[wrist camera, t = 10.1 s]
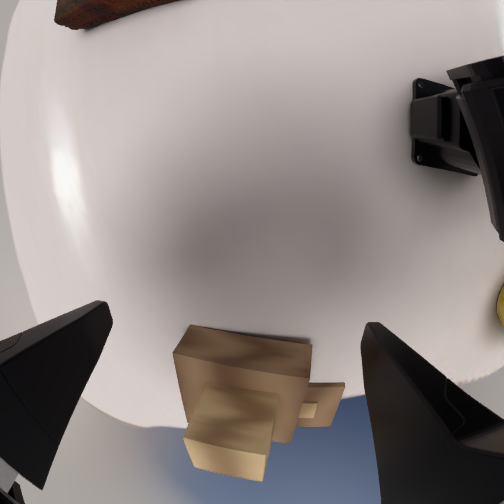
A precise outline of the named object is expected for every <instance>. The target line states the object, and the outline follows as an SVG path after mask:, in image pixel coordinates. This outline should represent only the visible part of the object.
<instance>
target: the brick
mask: <svg viewBox="0 0 504 504" xmlns="http://www.w3.org/2000/svg"><path fill="white" fill-rule="evenodd" d="M173 1H177V0H57V6H56V12H55V18H54V21H55V23H57V24H59V25H62V26H63V25H64V26H65V27H69V28H70V29H72V30H78V29H81V28H82V29H88V28H92V27H94V26H97V25H99V24H101V23H103V22H107V21H110V20H115V19H117V18H120V17H123V16H125V15H128V14H132V13H135V12H137V11H140V10H144V9H147V8H151V7H154V6H158V5H162V4H165V3H169V2H173Z"/></svg>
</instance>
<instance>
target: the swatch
mask: <svg viewBox="0 0 504 504" xmlns="http://www.w3.org/2000/svg"><path fill="white" fill-rule="evenodd" d="M344 388H345V384H344V383H308V387H307V390H306V394H305V397H304V401H303V404H302V407H301V411H300V414H299V417H298V420H297V423H296V426H301V427H305V426H306V427H311V426H313V427H318V426H319V427H320V426H330V425H331V423H332V420H333V418H334V415H335V413H336V410H337V408H338V405H339V402H340V400H341V397H342V394H343V391H344Z"/></svg>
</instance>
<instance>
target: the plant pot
mask: <svg viewBox="0 0 504 504" xmlns="http://www.w3.org/2000/svg"><path fill="white" fill-rule="evenodd" d="M497 314H498V316H499V319H500V321H501V323H502V325H503V327H504V285H503V287H502V289H501V292H500V294H499V297H498V301H497Z"/></svg>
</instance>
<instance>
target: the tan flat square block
mask: <svg viewBox="0 0 504 504" xmlns="http://www.w3.org/2000/svg"><path fill="white" fill-rule="evenodd" d="M311 356H312V345H309V344H301V343H293V342H286V341H279V340H272V339H265V338H259V337H253V336H247V335H241V334H235V333H230V332H224V331H219V330H214V329H209V328H204V327H199V326H194V325H190V326H189V328H188V329H187V331H186V333H185V334H184V336H183V337H182V339H181V340H180V342H179V344H178V345H177V347H176V348H175V350H174V351H173V357H174V363H175V368H176V373H177V378H178V383H179V388H180V392H181V397H182V401H183V406H184V410H185V414H186V418H187V423H189V422H190V420H191V418H192V416H193V413H194V411H195V409H196V407H197V405H198V402H199V400H200V398H201V396H202V393H203V391H204V389H205V387H206V385H207V382H212V383H217V384H222V385H227V386H232V387H238V388H244V389H250V390H256V391H263V392H270V393H277V394H279V396H278V404H277V411H276V419H275V426H274V432H273V437H272V441H275V442H282V443H290V441H291V439H292V436H293V432H294V429H295V426H296V423H297V420H298V417H299V414H300V411H301V407H302V404H303V401H304V397H305V394H306V390H307V387H308V383H309V380H310V370H311Z"/></svg>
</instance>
